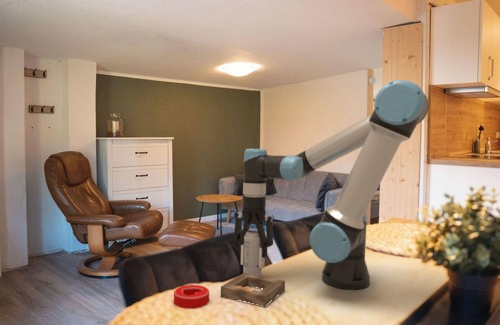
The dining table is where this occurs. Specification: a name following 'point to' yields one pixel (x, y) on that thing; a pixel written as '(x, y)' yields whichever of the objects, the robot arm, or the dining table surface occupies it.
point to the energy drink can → (251, 253)
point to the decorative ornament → (191, 296)
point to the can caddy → (263, 297)
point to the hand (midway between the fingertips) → (252, 265)
